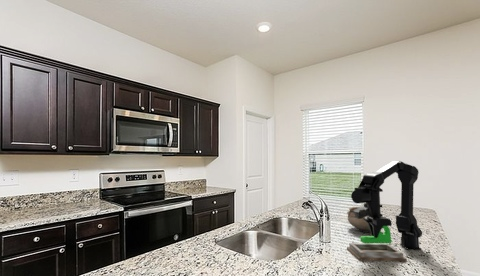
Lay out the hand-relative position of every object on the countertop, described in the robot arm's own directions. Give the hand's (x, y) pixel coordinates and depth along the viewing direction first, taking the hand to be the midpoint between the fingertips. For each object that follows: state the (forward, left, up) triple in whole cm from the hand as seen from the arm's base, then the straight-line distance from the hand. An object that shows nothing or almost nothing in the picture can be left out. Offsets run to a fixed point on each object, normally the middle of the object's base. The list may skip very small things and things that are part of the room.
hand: (374, 236), depth 113 cm
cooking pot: (-13, -38, -8) cm, 41 cm away
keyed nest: (0, 0, -8) cm, 8 cm away
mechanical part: (-1, -1, -3) cm, 3 cm away
